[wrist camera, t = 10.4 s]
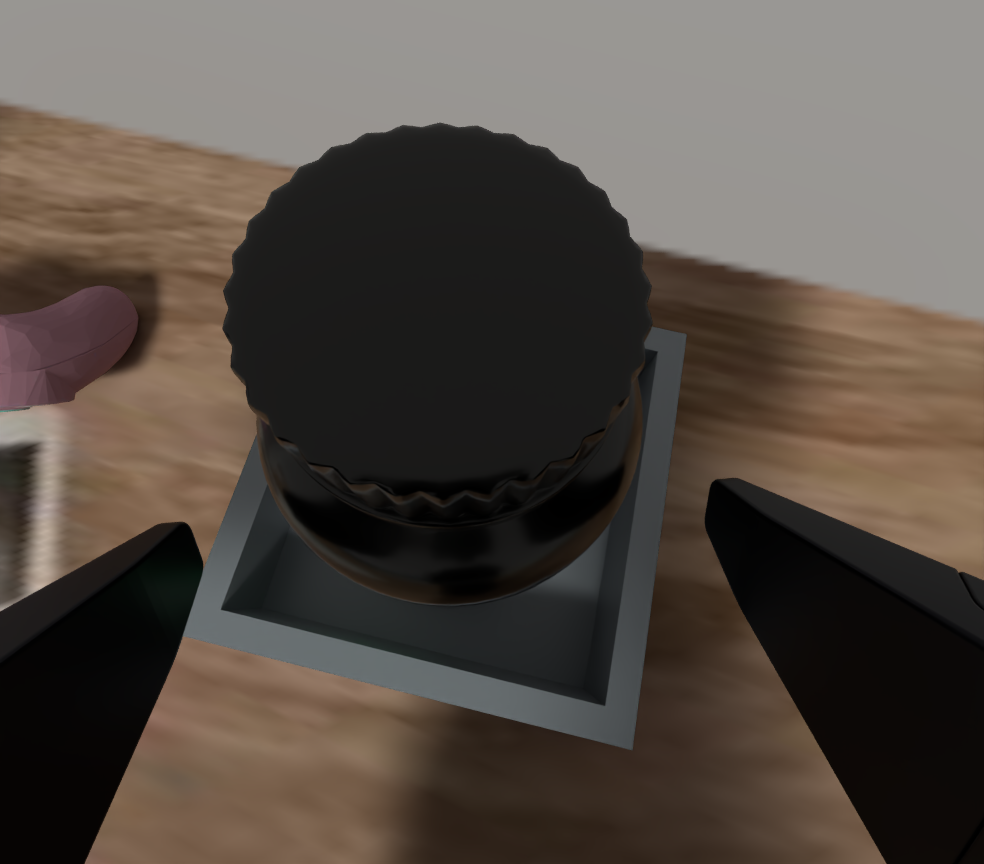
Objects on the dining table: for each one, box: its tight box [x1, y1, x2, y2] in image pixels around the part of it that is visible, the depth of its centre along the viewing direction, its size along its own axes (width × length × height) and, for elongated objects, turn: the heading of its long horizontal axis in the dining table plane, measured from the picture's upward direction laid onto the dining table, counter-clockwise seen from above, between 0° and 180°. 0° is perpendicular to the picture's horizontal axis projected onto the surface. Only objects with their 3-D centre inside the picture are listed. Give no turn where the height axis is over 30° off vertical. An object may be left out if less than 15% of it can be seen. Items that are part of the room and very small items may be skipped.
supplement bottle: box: [222, 123, 653, 607], centre depth 12 cm, size 7×7×12 cm
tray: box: [183, 327, 687, 750], centre depth 16 cm, size 12×12×4 cm
